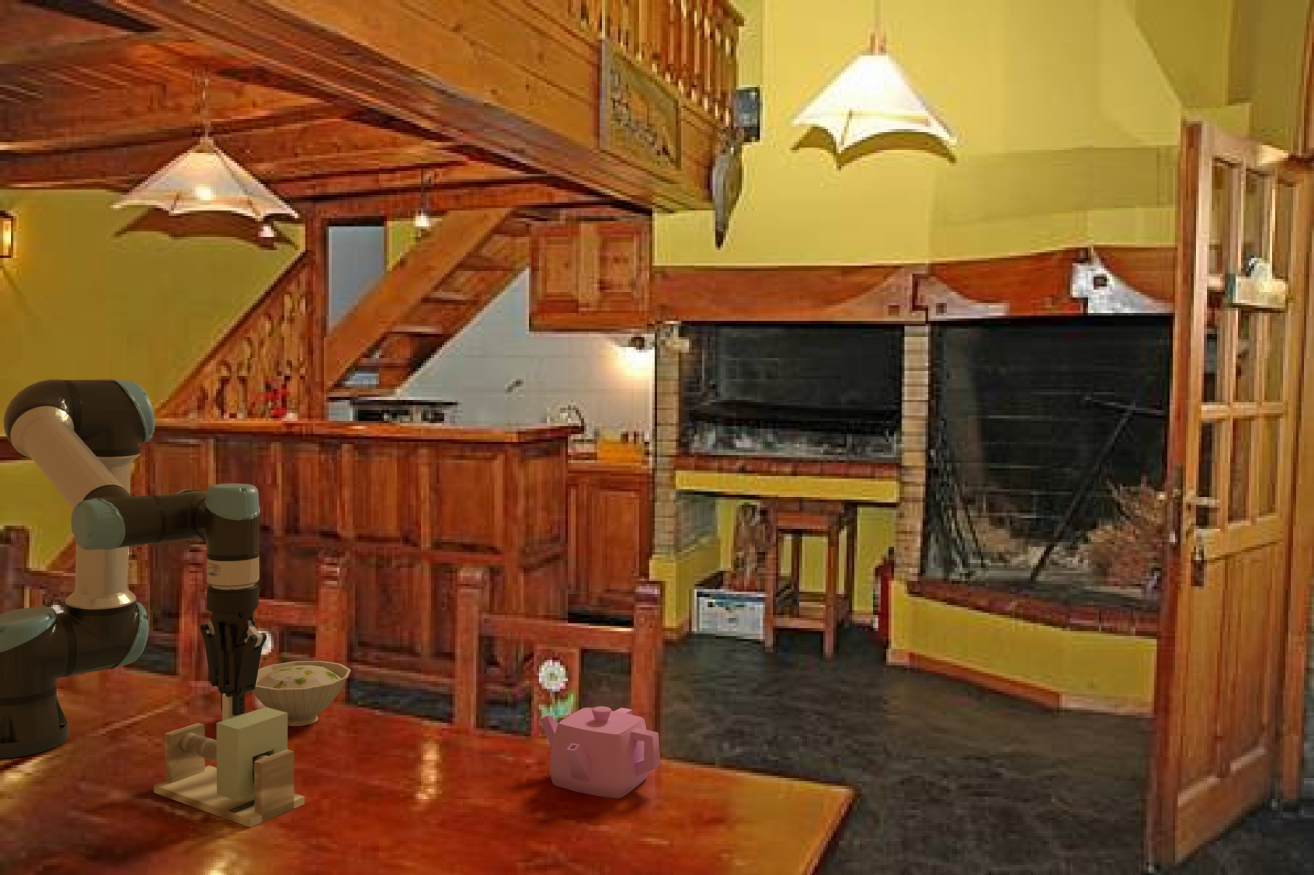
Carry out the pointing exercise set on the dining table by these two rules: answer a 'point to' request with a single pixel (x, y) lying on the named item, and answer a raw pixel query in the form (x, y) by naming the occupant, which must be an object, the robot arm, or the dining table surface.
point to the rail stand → (199, 783)
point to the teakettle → (601, 751)
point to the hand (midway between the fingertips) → (232, 733)
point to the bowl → (300, 688)
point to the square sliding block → (247, 748)
